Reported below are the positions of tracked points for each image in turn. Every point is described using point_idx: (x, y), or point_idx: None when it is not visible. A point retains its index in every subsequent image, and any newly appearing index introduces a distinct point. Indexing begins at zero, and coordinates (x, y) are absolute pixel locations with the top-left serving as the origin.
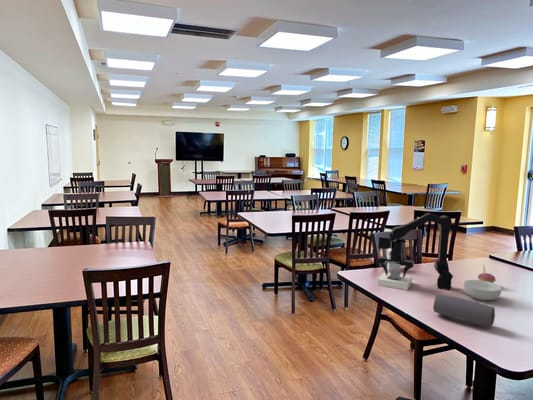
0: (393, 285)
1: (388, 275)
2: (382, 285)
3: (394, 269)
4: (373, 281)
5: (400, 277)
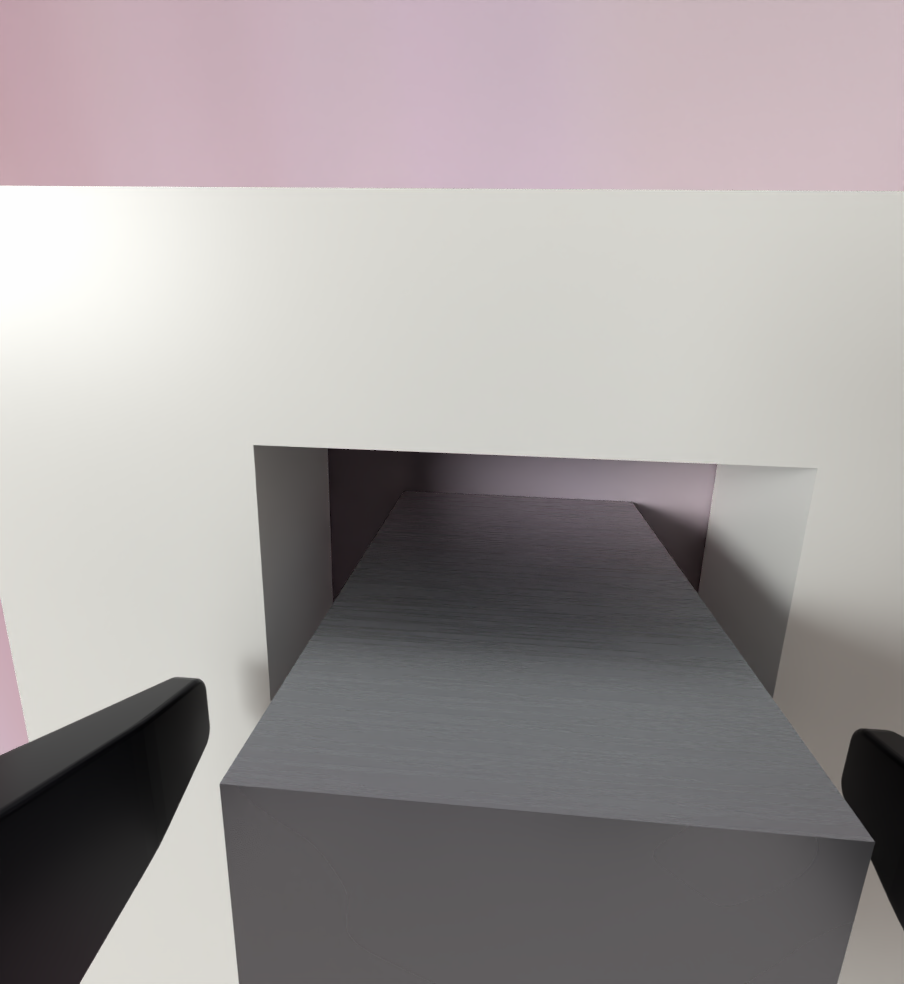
0: None
1: (227, 515)
2: None
3: (414, 890)
4: (6, 638)
5: (691, 457)
